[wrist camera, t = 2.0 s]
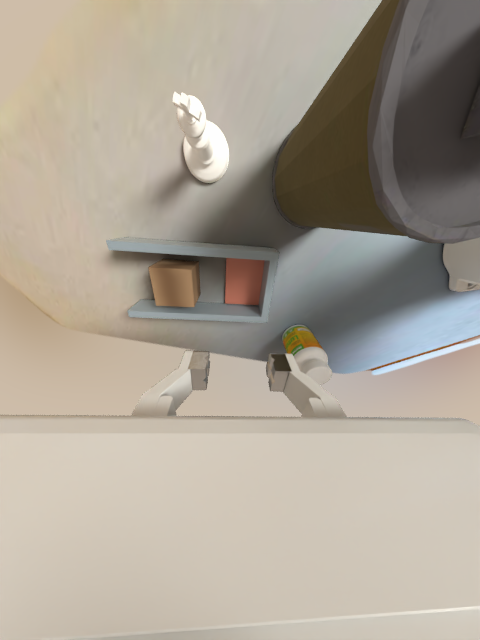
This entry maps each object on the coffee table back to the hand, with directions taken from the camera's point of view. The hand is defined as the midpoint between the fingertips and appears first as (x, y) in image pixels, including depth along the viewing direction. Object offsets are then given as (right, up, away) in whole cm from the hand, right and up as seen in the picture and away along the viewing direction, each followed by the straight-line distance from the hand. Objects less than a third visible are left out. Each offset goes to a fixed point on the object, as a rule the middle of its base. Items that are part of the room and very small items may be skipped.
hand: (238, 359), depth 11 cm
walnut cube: (-9, +9, +14) cm, 19 cm away
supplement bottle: (+11, 0, +21) cm, 23 cm away
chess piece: (-4, +21, +8) cm, 23 cm away
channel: (-6, +9, +14) cm, 18 cm away
